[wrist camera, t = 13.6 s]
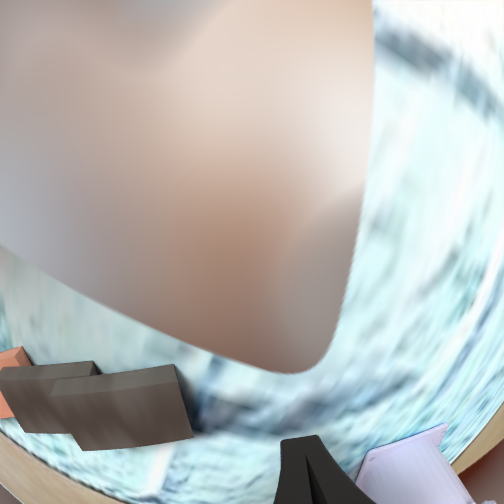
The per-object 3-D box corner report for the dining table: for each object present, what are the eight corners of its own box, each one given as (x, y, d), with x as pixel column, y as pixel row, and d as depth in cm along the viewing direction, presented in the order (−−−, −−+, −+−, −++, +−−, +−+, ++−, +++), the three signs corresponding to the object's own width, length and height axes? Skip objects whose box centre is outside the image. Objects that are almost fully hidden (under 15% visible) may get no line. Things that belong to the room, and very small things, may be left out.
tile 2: (114, 430, 13) (24, 432, 11) (114, 414, 15) (29, 418, 13) (89, 375, 13) (-6, 379, 10) (92, 360, 14) (3, 366, 12)
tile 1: (194, 437, 14) (82, 451, 11) (188, 420, 15) (84, 433, 13) (177, 380, 13) (50, 395, 10) (173, 363, 14) (56, 379, 12)
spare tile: (47, 411, 13) (-14, 420, 11) (51, 398, 15) (-9, 409, 12) (14, 356, 12) (-44, 371, 10) (22, 346, 14) (-36, 362, 11)
